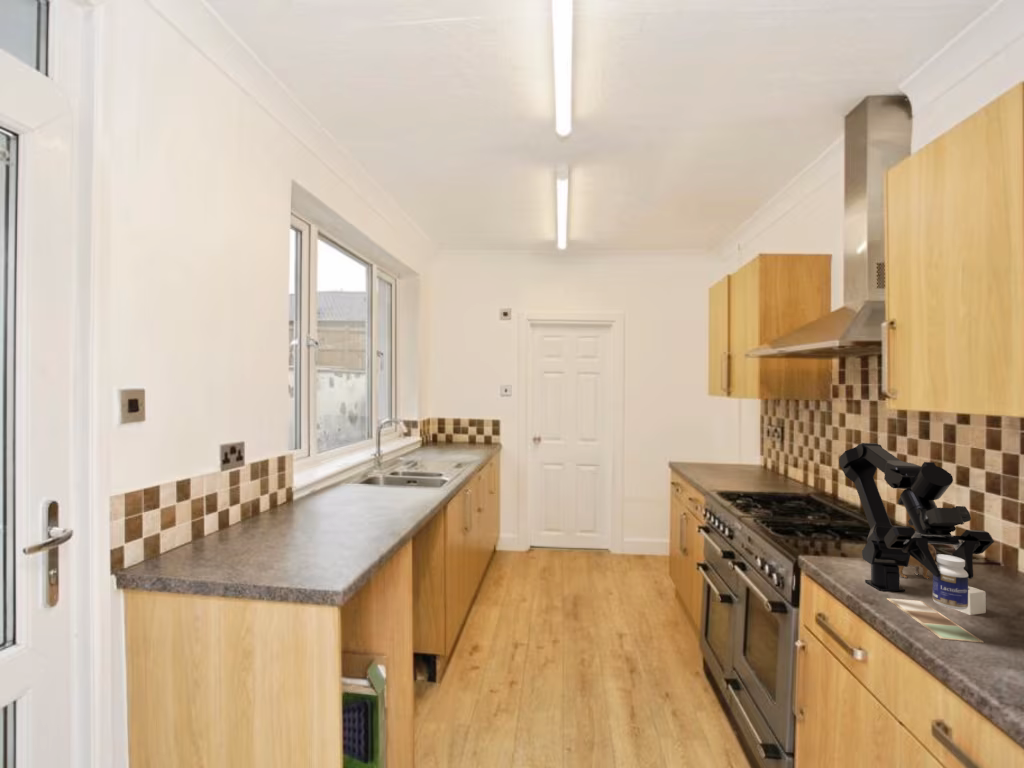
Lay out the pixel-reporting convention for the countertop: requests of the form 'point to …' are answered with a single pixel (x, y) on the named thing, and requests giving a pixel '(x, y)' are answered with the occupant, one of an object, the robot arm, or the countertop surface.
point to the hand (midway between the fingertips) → (954, 576)
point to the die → (975, 602)
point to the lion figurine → (918, 563)
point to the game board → (934, 620)
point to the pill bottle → (951, 582)
